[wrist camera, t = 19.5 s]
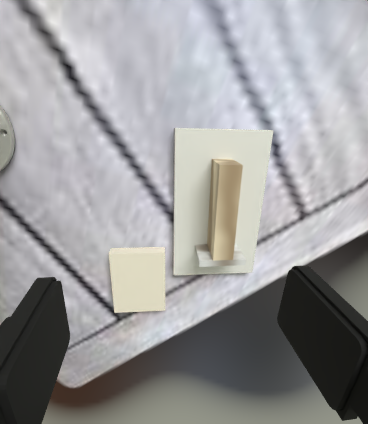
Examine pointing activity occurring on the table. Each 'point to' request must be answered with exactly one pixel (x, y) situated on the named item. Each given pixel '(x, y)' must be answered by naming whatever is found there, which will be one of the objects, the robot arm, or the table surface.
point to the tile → (138, 279)
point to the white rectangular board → (200, 192)
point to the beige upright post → (222, 216)
